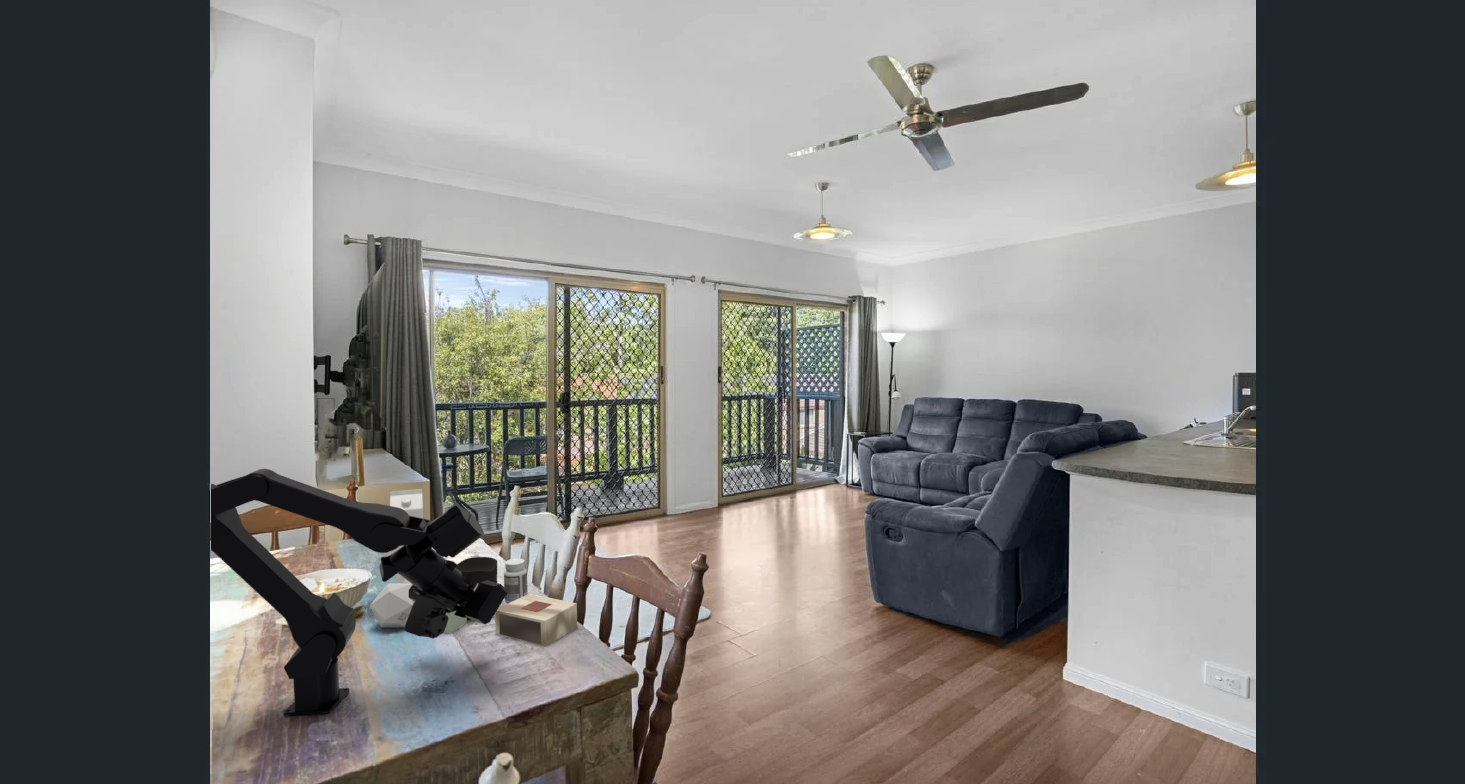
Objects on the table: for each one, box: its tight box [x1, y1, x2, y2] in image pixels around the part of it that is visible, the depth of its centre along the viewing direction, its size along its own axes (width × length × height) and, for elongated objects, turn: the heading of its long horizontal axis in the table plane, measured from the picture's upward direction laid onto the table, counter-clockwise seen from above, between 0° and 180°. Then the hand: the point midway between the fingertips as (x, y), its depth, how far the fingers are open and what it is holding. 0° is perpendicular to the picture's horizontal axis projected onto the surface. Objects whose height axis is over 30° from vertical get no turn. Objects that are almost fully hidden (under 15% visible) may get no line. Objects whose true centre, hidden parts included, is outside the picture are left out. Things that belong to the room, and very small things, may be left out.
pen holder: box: [455, 556, 498, 621], centre depth 134 cm, size 9×9×10 cm
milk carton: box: [389, 488, 424, 555], centre depth 163 cm, size 7×7×19 cm
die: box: [369, 582, 415, 629], centre depth 128 cm, size 8×9×10 cm
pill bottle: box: [503, 557, 529, 604], centre depth 141 cm, size 5×5×8 cm
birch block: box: [494, 593, 578, 647], centre depth 125 cm, size 5×12×9 cm
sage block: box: [442, 611, 468, 634], centre depth 127 cm, size 5×5×7 cm
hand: (485, 616), depth 115 cm, fingers closed
